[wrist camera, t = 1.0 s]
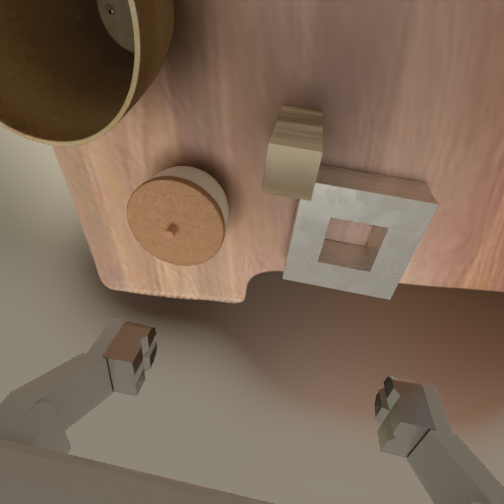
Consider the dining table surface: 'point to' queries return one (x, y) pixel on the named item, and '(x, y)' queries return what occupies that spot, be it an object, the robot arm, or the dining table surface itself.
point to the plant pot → (77, 64)
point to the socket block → (363, 211)
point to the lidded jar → (179, 215)
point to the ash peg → (294, 153)
